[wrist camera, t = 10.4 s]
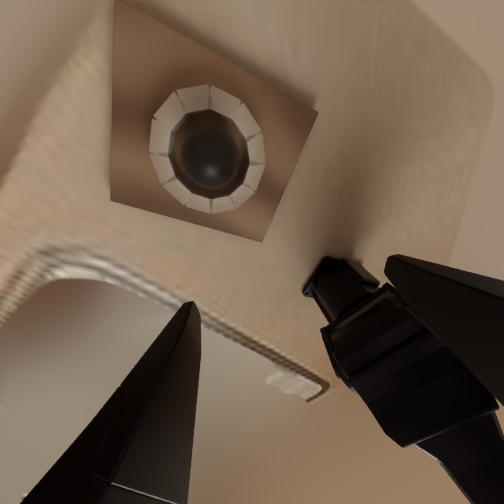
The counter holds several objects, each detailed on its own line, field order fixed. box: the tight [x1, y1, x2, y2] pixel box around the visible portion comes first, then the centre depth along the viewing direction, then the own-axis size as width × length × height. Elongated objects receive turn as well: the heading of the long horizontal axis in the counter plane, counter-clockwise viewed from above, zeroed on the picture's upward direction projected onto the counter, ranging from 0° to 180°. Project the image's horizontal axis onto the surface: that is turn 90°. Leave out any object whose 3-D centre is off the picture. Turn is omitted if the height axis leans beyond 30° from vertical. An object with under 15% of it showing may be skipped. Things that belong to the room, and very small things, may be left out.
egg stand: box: [110, 0, 319, 242], centre depth 15 cm, size 12×14×2 cm
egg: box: [180, 125, 239, 189], centre depth 13 cm, size 4×4×5 cm
